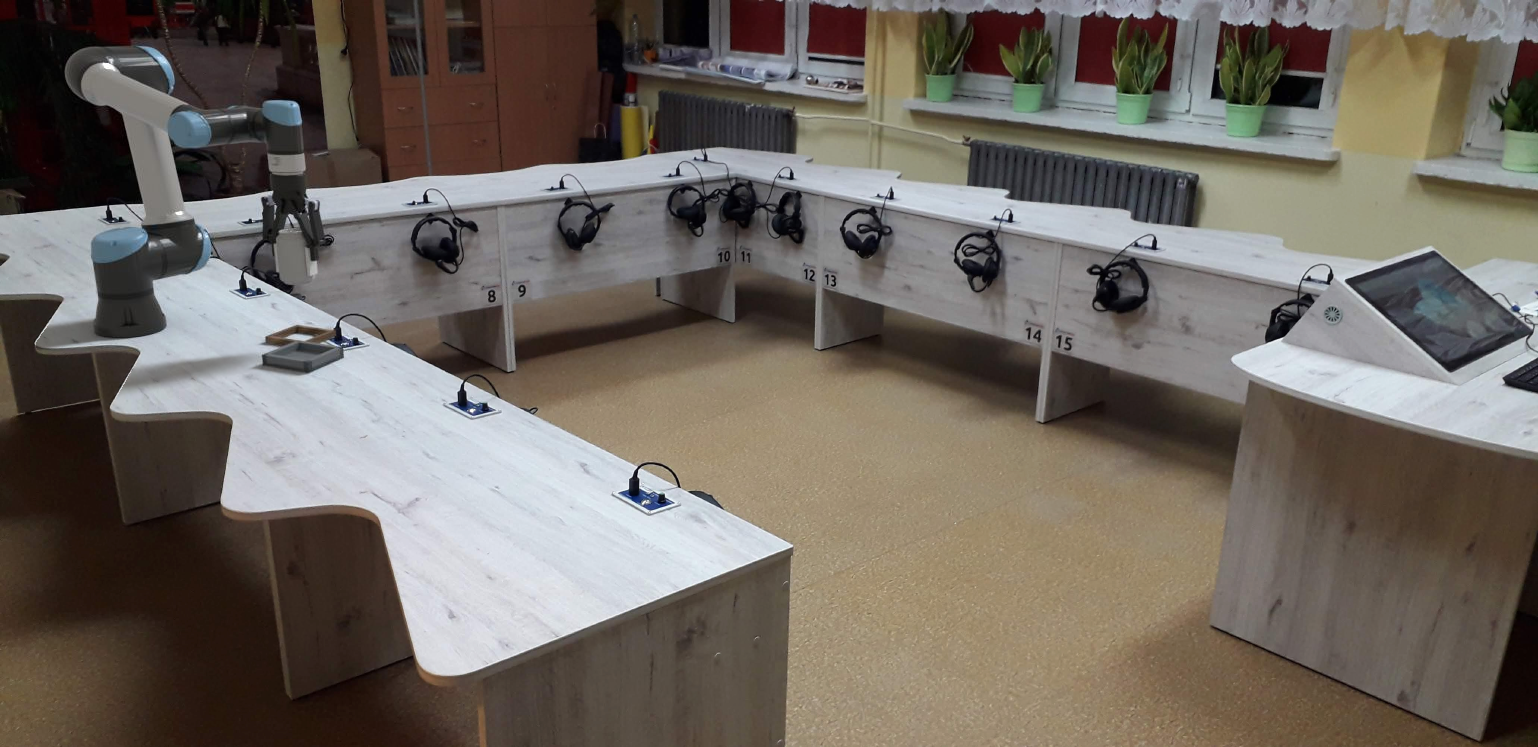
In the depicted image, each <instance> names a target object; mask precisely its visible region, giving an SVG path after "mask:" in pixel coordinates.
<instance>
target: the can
mask: <svg viewBox="0 0 1538 747" xmlns="http://www.w3.org/2000/svg"><path fill="white" fill-rule="evenodd" d="M278 233H279V235H278V236H277V237H276V245H277V255H278V265H279V272H278V273H279V274H278V275H279V280H280V281H281V282H282V283H284V284H285V285H290V286H300V285H307V284H310V283H312V281H314V280H315V279H316V274H315V275H312V276H307V266H306V256H305V247H306V246H308V245H307V243H306V240H305V238H304V236H303V233H302V231H301V229H300V227H299V228H298V227H297V228H296V227H295V228H294V227H293V228H284V229H283V230H280V231H279V232H278Z"/></svg>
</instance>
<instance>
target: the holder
mask: <svg viewBox="0 0 1538 747" xmlns="http://www.w3.org/2000/svg"><path fill="white" fill-rule="evenodd" d="M298 333H300V334H301V333H302V334H308V335H315V336H314V337H311V338H308V339H306V340H305V341H307V342H313V343H320V344H322V343H324V342H326V341H328V340H331V339H333V338H335V336H336V337H337V334H336V333H337V331H336V329H329V328H322V327H316V326H315V327H314V326H307V325H301V324H295V325H292V326H290V327H287V328H284V329H282V330H279V331H276V332H274V333H271V334H268V335H265V337H264V340H265V343H266V344H272V345H277V346H282V347H283V346H285V345H288V344H290V343H293V342H295V341H298V340H299V339H293V338H288V337H290V336H292V335H295V334H298Z"/></svg>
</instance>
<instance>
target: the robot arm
mask: <svg viewBox="0 0 1538 747" xmlns="http://www.w3.org/2000/svg"><path fill="white" fill-rule="evenodd" d="M64 78H65V80H66V83H67V86H68V87H69V88H70V90H71V92H73V93H74V94H75V95H77V96H78V97H79V98H80V99H82V100H84V101H86V102H89V103H91V104H93V105H95V106H100V107H101V106H102V107H103V106H109V107H110V108H113V109H115V111H117V112H119V113H120V114H121V115H122V119H123V122H124V127H125V131H126V136H127V140H128V144H129V148H130V153H131V156H132V161H133V165H134V166H133V167H134V170H135V174H136V179H137V182H138V187H139V192H140V195H141V199H142V204H143V208H144V213H145V217H144V219H142V220H141V222H140V226H141V227H135V226H127V227H121V228H120V227H117V228H113V229H109V230H105V231H103V232H100V233H98V234H96V235H95V236H94V237H93V238H92V240H91V242H90V258H91V260H92V266H93V273H94V279H95V286H96V292H97V293H96V294H97V299H98V300H97V304H96V311H95V318H94V319H93V322H92V325H93V330H94V334H96V335H98V336H102V337H105V338H106V337H107V338H132V337H134V338H135V337H140V336H146V335H151V334H155V333H159V332H161V331H163V330H164V329H166V327H167V318H166V315H165V313H164V312H163V310H162V307H161V306H160V303H159V301H158V299H157V297H156V294H155V289H154V281H158V280H162V279H163V280H164V279H167V278H172V277H177V276H180V275H189V274H191V273H194V272H197V271H200V270H202V269H204V268H205V267H206V265H207V264H208V261H209V260H210V257H211V255H212V254H211V253H212V243H211V242H212V241H211V239H210V235H209V233H208V232H207V231H206V230H205V228H204V226H202V225H201V224H199V223H196V221H195V217H194V216H193V215H192V214H190V213H189V212H188V211H187V210H186V207H185V203H184V199H183V194H182V190H181V186H180V185H181V184H180V181H179V177H178V173H177V169H176V168H177V167H176V163H175V160H174V158H175V157H174V154H173V150H172V146H171V141H173V143H174V145H176V146H178V147H179V148H181V149H182V148H183V149H200V148H207V147H213V146H222V145H232V144H240V143H264V144H266V152H267V160H268V161H267V162H268V169H269V170H268V171H270V172H271V173H270V174H269V186H270V189H271V191H272V195H265V196H261V197H260V201H261V202H260V203H261V205H262V236H261V237H262V239H263V240H264V241H268V242H269V243H270V244H271V245H270V246H271V253H272V257H274V260H275V270H276V273H279V265H278V255H277V245H276V237H277V236H278V235H279V233H278V232H279V231H280V230H283V229H285V226H286V222H287V219H288V217H289V215H291V216H293V218H294V219H295V220H296V222H297V223H298V226H299V228H300V229H301V231H302V233H303V236H304V238H305V240H306V243H307V245H308V246H306V247H305V256H306V266H307V276H312V275H315V276H316V275H317V274H319V273H318V261H319V259H320V254H319V246H321V245H323V244H326V241H327V240H326V236H325V232H324V231H325V230H324V227H323V222H322V217H321V212H320V208H321V207H320V206H321V201H320V200H318V199H315V200H314V199H309V197H308V195H307V189H308V182H307V173H305V171H306V169H307V168H306V167H307V166H306V159H305V158H306V157H305V151H304V150H305V149H304V138H303V127H302V126H303V125H302V124H303V120H302V116H301V110H300V105H299V104H298V103H297V102H296V101H294V100H282V99H281V100H280V99H279V100H277V99H276V100H274V99H273V100H266V101H264V102H263V103H262V108H260V107H252V106H248V105H232V106H229V107H228V108H218V109H217V108H216V109H201V108H198V107H196V106H193V105H191V104H189V103H187V102H185V101H183V100H181V99H179V98H176V97H175V96H174V97H173V96H171V95H170V94H171V93H172V92H173V90H174V85H175V75H174V71H173V69H172V66H171V64H170V62H169V61H168V60H167V58H166V57H165V55H163V54H161V52H160V51H159V50H157V49H155V48H154V47H150V46H143V45H142V46H139V45H124V46H123V45H120V46H89V47H84V48H81V49H79V50H77V51H76V52H74V53H73V54H72V55H71V56H70V57H69V59H68V60H67V62H66V64H65V67H64ZM170 139H171V140H170Z"/></svg>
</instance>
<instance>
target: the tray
mask: <svg viewBox="0 0 1538 747" xmlns="http://www.w3.org/2000/svg"><path fill="white" fill-rule="evenodd" d="M297 340H298V341H295V342H293V343H290V344H288V345H285V346H283V345H282V346H281V347H278V348H274V349H273V350H270V351H268V352H265V353H263V354H261V359H262V366H263V367H271V368H275V369H276V368H277V369H283V370H289V371H293V372H294V371H295V372H301V373H307V374H311V373H313V372H315V371H317V370H319V369H321V368H324V367H326V366H329V365H331V364H333V363H335V362H337V361H340V360H341V359H344V358H345V353H344V346H338V345H333V344H326V343H325V344H324V343H313V342H307V341H306V340H301V339H297Z"/></svg>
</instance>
